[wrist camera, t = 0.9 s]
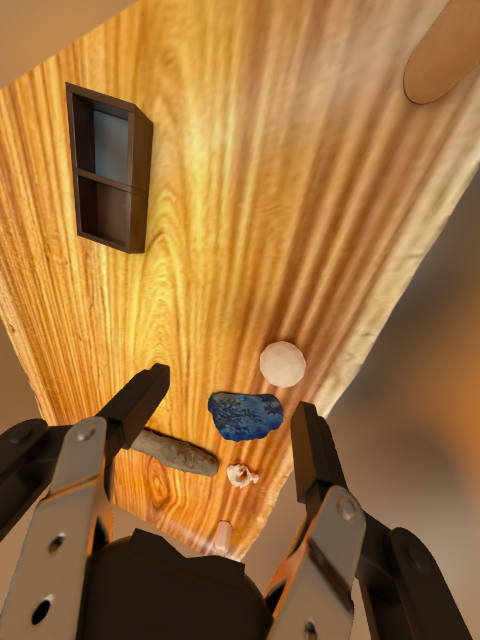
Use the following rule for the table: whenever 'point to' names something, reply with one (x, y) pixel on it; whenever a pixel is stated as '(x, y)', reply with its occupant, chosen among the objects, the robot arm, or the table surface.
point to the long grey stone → (176, 454)
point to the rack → (109, 168)
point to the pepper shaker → (223, 538)
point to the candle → (445, 52)
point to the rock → (245, 415)
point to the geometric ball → (282, 364)
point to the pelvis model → (236, 481)
